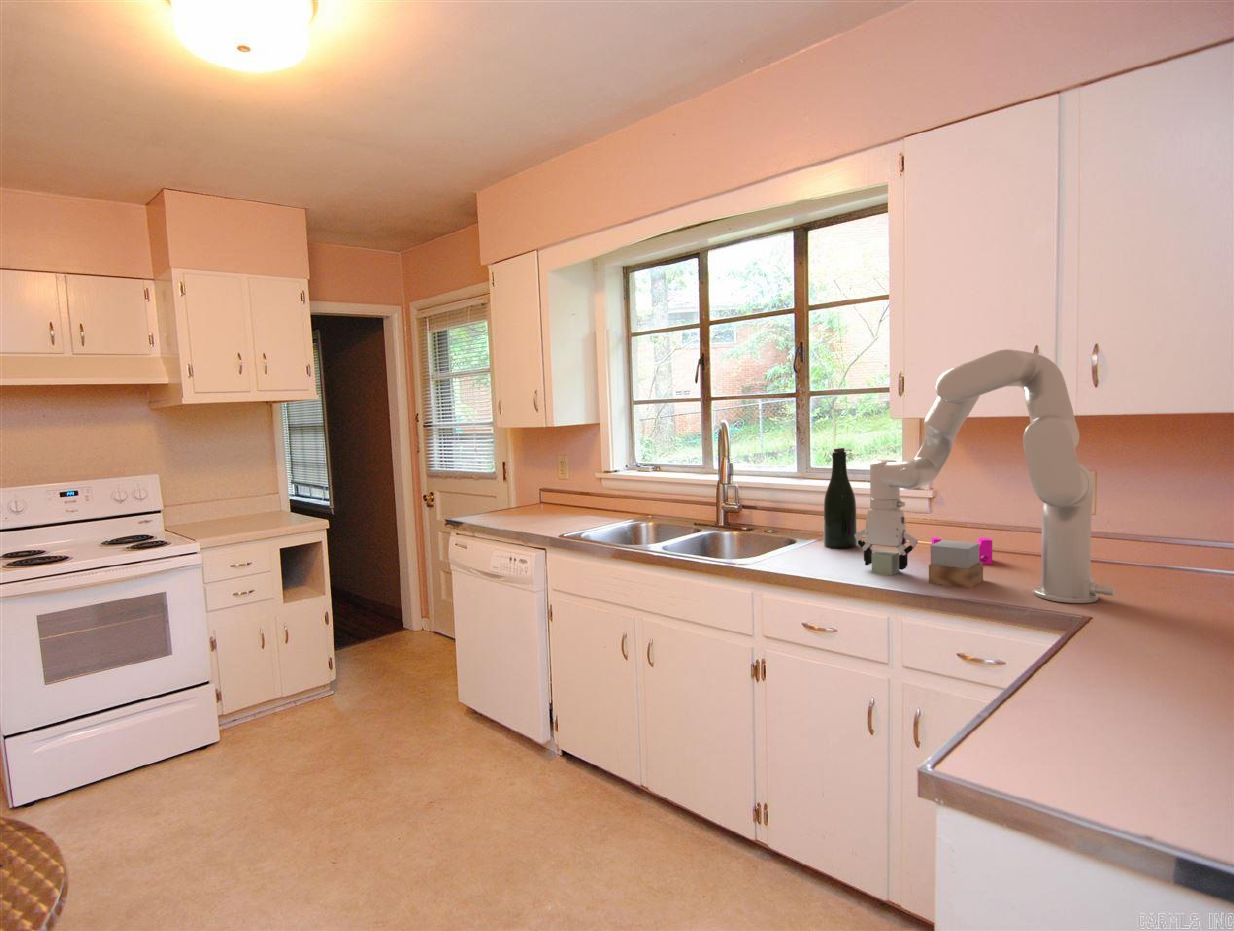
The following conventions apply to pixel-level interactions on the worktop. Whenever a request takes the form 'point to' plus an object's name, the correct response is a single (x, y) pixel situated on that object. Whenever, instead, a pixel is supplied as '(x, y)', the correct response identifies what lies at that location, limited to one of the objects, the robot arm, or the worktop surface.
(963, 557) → the tower top
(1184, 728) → the worktop surface
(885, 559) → the sage cube
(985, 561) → the toy block
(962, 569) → the tower bottom
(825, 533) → the dark green wine bottle
